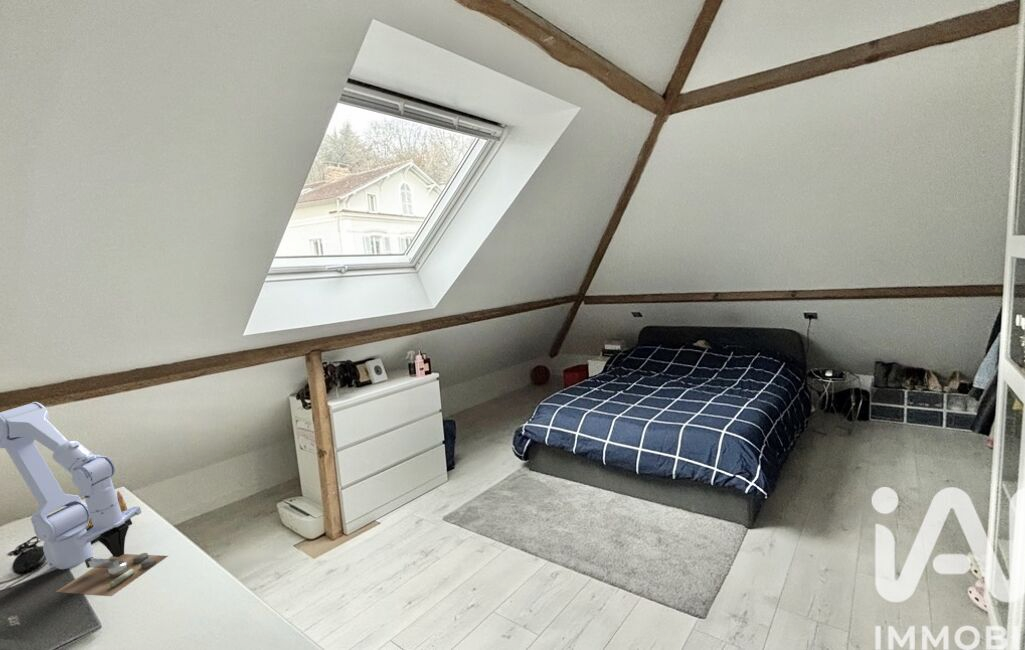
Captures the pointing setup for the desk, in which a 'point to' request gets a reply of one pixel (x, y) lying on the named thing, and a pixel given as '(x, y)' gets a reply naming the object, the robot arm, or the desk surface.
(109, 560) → the door lever handle
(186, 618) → the desk surface
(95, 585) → the brown flat board
